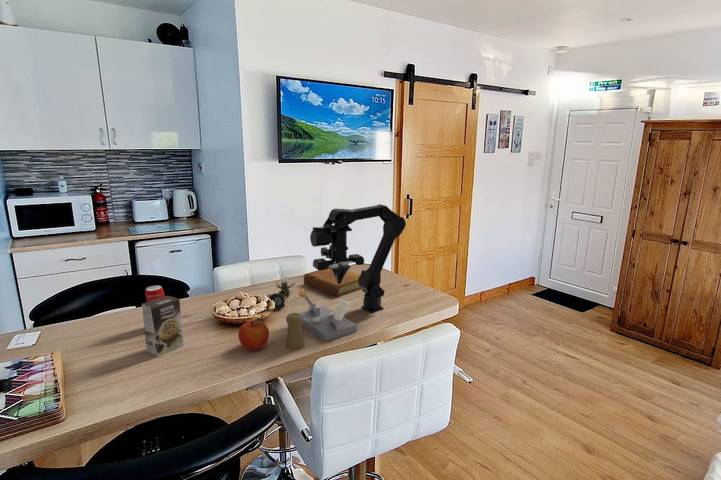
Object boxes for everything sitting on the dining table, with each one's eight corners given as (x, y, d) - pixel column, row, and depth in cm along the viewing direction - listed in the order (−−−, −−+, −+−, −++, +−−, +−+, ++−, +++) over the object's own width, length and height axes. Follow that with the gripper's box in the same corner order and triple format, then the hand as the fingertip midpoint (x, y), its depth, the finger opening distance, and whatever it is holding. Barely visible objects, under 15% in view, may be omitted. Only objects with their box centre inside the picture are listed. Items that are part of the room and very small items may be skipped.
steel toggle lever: (317, 307, 154) (301, 286, 150) (320, 309, 152) (304, 288, 147) (311, 312, 154) (295, 291, 149) (314, 315, 151) (298, 294, 146)
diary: (303, 285, 191) (303, 274, 189) (333, 276, 204) (333, 265, 202) (337, 298, 175) (337, 285, 174) (367, 287, 188) (367, 275, 187)
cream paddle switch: (334, 323, 144) (345, 300, 144) (339, 328, 140) (350, 304, 140) (329, 321, 143) (340, 298, 143) (334, 326, 139) (345, 302, 139)
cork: (300, 351, 129) (300, 319, 127) (282, 349, 131) (281, 317, 128) (307, 342, 135) (306, 311, 133) (289, 340, 136) (288, 309, 134)
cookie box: (158, 357, 125) (152, 308, 121) (146, 351, 128) (140, 303, 124) (184, 345, 132) (180, 298, 129) (172, 340, 136) (167, 294, 132)
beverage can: (173, 324, 147) (168, 285, 144) (157, 332, 141) (152, 291, 138) (161, 321, 149) (157, 282, 146) (145, 328, 144) (140, 288, 140)
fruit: (244, 339, 137) (242, 312, 134) (272, 340, 136) (271, 312, 134) (234, 354, 127) (232, 324, 125) (265, 355, 127) (263, 325, 125)
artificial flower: (265, 312, 162) (258, 288, 162) (284, 298, 184) (278, 277, 184) (286, 308, 161) (279, 283, 160) (302, 294, 183) (296, 273, 182)
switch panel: (324, 311, 160) (324, 298, 159) (356, 331, 144) (356, 316, 142) (294, 320, 152) (294, 306, 151) (325, 341, 136) (325, 326, 135)
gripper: (351, 236, 161) (351, 274, 164) (307, 241, 152) (307, 280, 156) (365, 242, 151) (364, 282, 155) (318, 248, 143) (318, 290, 146)
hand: (338, 283), depth 153 cm, fingers closed
